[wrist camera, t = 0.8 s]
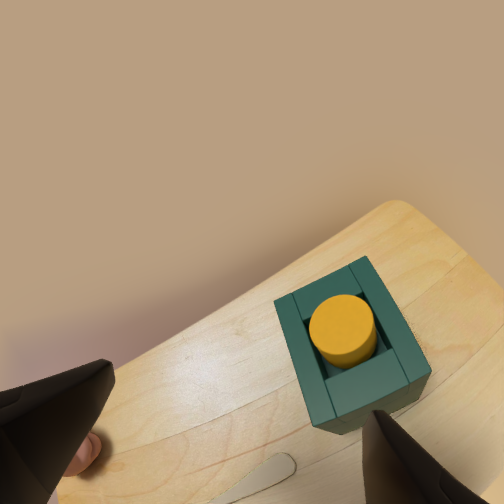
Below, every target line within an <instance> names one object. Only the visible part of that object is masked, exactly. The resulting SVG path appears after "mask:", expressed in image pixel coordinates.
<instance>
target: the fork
mask: <svg viewBox="0 0 504 504" xmlns="http://www.w3.org/2000/svg"><path fill="white" fill-rule="evenodd" d="M295 469H296V463H295V462H294V461H293V459H292V458H291V457H290V455H288V454H285V453H277V454H275V455H274V456H272V457H271V458H269V459H267V460H266V461H264V462H263V463H262V464H260V465H259V466H258V467H256V468H255V469H254V470H253V471H251V472H250V473H249V474H248V475H246V476H245V477H244V478H243V479H241V480H240V481H239V482H237V483H236V484H235V485H234V486H232V487H231V488H229V489H228V490H226V491H225V492H224V493H222V494H221V495H219V496H217V497H216V498H214V499H212V500H211V501H209V502H207V503H205V504H229V503H232V502H234V501H237V500H239V499H241V498H244V497H247V496H249V495H252V494H254V493H257V492H259V491H261V490H264V489H266V488H268V487H270V486H272V485H274V484H277V483H279V482H280V481H282V480H284V479H285V478H287V477H288V476H290V475H292V474H293V473H294V471H295Z"/></svg>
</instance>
